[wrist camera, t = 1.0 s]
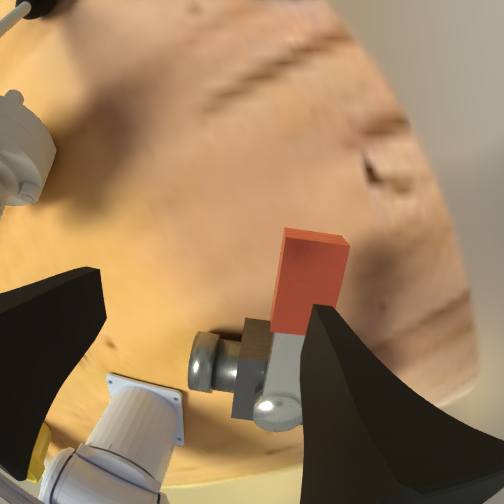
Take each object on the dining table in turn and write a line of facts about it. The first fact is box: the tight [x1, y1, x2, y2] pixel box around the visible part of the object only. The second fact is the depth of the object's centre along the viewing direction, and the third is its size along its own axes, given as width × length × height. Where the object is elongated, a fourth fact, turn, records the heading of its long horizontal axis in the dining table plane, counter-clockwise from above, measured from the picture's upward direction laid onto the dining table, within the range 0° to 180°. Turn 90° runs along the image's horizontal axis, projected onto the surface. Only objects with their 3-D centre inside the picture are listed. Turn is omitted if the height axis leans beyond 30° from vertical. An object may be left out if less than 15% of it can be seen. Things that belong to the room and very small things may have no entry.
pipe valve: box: [188, 318, 303, 425], centre depth 21 cm, size 6×13×5 cm, turn 83°
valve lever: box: [253, 228, 350, 432], centre depth 16 cm, size 13×3×2 cm, turn 173°
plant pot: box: [26, 422, 52, 483], centre depth 28 cm, size 10×10×10 cm
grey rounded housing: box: [0, 0, 56, 220], centre depth 15 cm, size 10×20×15 cm
